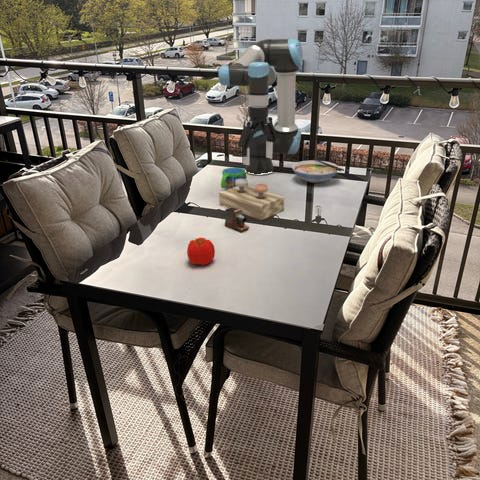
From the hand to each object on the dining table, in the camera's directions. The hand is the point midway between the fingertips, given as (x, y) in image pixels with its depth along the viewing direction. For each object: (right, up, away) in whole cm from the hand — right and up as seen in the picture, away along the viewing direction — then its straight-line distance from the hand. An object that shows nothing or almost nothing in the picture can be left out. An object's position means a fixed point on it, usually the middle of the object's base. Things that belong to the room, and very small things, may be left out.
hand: (257, 161), depth 183 cm
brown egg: (+1, -15, +7) cm, 17 cm away
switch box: (-2, -18, +12) cm, 22 cm away
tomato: (-20, -39, -31) cm, 54 cm away
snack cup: (-10, -9, +31) cm, 34 cm away
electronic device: (-8, -27, -6) cm, 29 cm away
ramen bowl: (+30, -2, +45) cm, 54 cm away
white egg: (-6, -12, +14) cm, 19 cm away
